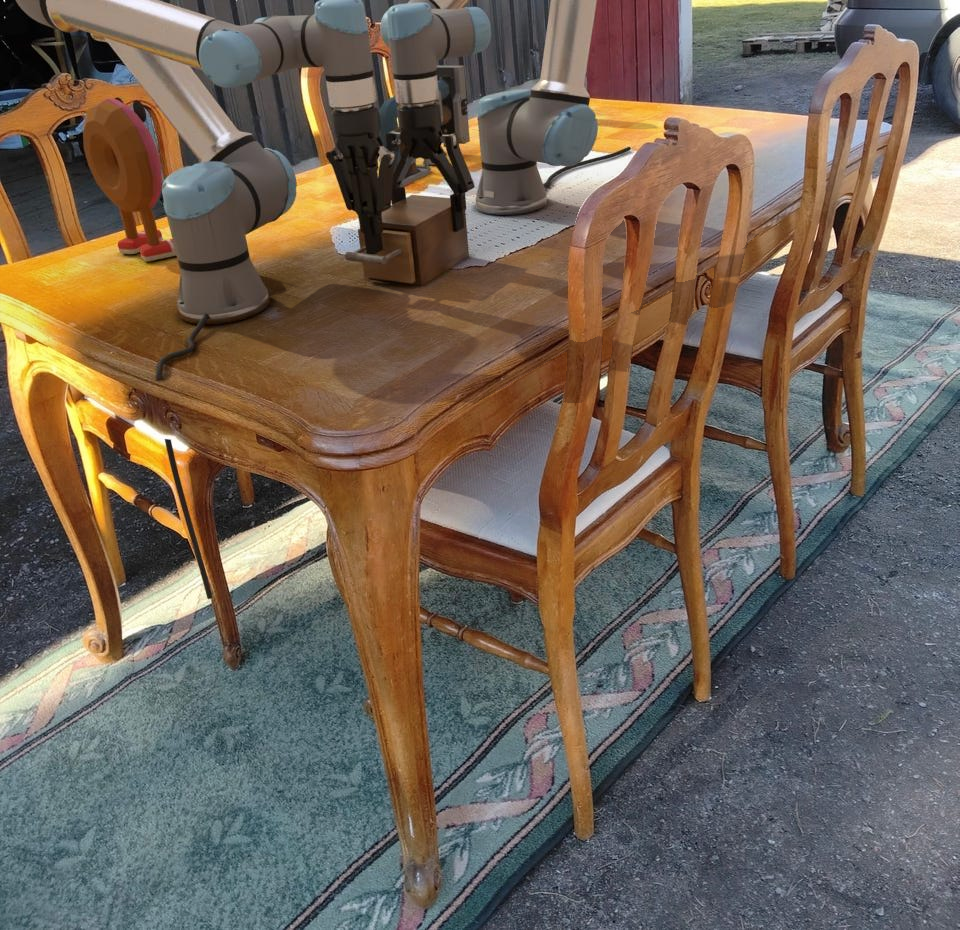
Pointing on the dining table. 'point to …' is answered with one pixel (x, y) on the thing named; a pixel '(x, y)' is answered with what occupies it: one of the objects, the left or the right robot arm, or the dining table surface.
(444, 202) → the cabinet
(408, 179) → the clamp
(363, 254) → the drawer
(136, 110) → the toy
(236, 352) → the dining table surface
